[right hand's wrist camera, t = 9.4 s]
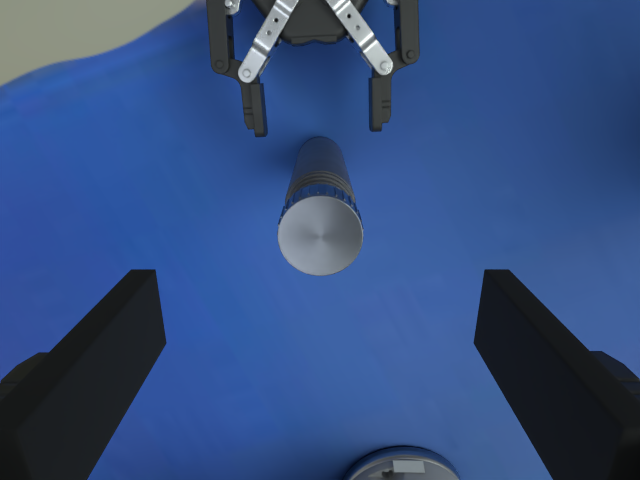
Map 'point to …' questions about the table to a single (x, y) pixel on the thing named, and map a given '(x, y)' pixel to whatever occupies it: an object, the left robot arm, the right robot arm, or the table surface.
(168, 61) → the table surface
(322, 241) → the cap
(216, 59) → the left robot arm
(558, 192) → the table surface
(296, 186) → the dark grey long cylinder
